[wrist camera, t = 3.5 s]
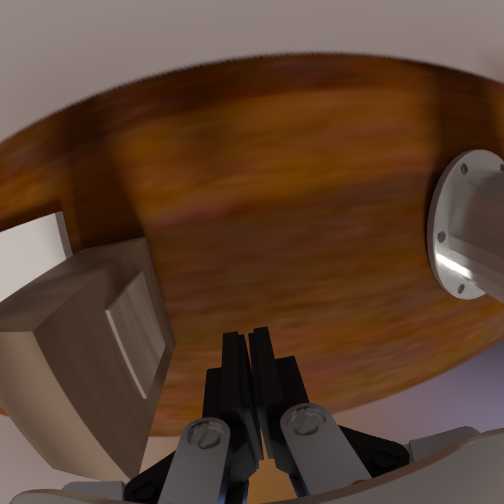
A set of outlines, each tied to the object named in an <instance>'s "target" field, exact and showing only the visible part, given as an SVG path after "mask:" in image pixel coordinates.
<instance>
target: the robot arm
mask: <svg viewBox="0 0 504 504" xmlns="http://www.w3.org/2000/svg"><path fill="white" fill-rule="evenodd" d="M427 248H428V256H429V260H430V265H431V268H432V271H433V273H434V275H435V278H436V279H437V281H438V282H439V284H440V285H441V286H442V287H443V288H444V289H445V290H446V291H448V292H449V293H450V294H452V295H454V296H455V297H457V298H461V299H474V298H477V297H479V296H482V295H483V294H485V293H487V294H489V295H490V296H492V297H494V298H495V299H497V300H498V301H500V302H502V303H503V304H504V161H503V160H502V159H501V158H500V157H499V156H498V155H496V154H494V153H493V152H491V151H487V150H469V151H465V152H463V153H461V154H460V155H458V156H457V157H455V158H454V159H453V160H452V161H451V162H450V163H449V165H448V166H447V167H446V169H445V170H444V172H443V173H442V175H441V177H440V178H439V181H438V183H437V186H436V188H435V190H434V193H433V197H432V201H431V204H430V209H429V216H428V222H427ZM253 330H254V333H248V336H249V346H250V356H251V365H252V370H251V365H250V361H249V356H248V351H247V346H246V342H245V337H244V334H242V335H239V334H238V331H236V332H230V333H224V334H223V346H222V367H221V368H213V369H208V370H207V374H206V384H205V394H204V404H203V414H202V418H201V419H197V420H195V421H193V422H191V423H190V424H189V425H187V426H186V427H185V429H184V430H183V432H182V435H181V437H180V440H179V443H178V446H177V449H176V450H175V451H174V452H173V453H171V454H170V455H168V456H167V457H165V458H164V459H162V460H161V461H159V462H158V463H156V464H155V465H153V466H152V467H150V468H148V469H147V470H145V471H144V472H142V473H141V474H139V475H137V476H136V477H134V478H133V479H131V480H130V481H129V482H128V483H124V482H123V481H103V482H71V483H68V484H67V485H65V486H64V487H63V488H62V490H56V489H36V490H28V491H25V492H21V493H20V494H17V495H16V496H15V497H14V498H13V499H12V500H11V502H10V503H9V504H247V497H248V488H249V477H250V476H251V475H252V474H253V473H255V472H256V469H258V468H259V464H258V461H259V460H264V457H263V448H262V439H261V431H260V425H261V429H262V434H263V438H264V442H265V446H266V450H267V454H268V457H269V459H273V458H274V460H275V464H276V468H278V469H279V470H281V471H283V472H285V473H287V474H289V479H290V481H291V484H292V486H293V488H294V491H295V493H296V496H297V498H296V499H290V500H285V501H278V502H271V503H263V504H504V428H500V429H495V430H490V431H486V432H483V433H479V432H478V430H476V429H474V428H473V427H468V426H464V427H459V428H456V429H452V430H449V431H446V432H442V433H439V434H435V435H431V436H427V437H423V438H419V439H415V440H410V441H409V444H404V445H401V444H398V443H396V442H393V441H389V440H386V439H382V438H379V437H375V436H371V435H368V434H365V433H362V432H359V431H355V430H352V429H349V428H346V427H343V426H340V425H337V423H336V422H335V420H334V418H333V417H332V415H331V414H330V412H329V411H328V410H327V409H326V408H325V407H323V406H321V405H319V404H314V403H309V400H308V396H307V393H306V390H305V387H304V384H303V381H302V378H301V375H300V372H299V369H298V366H297V363H296V360H295V357H294V356H289V357H284V358H279V359H275V358H274V353H273V349H272V344H271V340H270V335H269V331H268V327H261V328H255V329H253ZM259 421H260V422H259Z"/></svg>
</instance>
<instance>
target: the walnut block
mask: <svg viewBox="0 0 504 504" xmlns="http://www.w3.org/2000/svg"><path fill="white" fill-rule="evenodd" d="M175 345H176V342H175V339H174V336H173V333H172V329H171V326H170V323H169V320H168V317H167V313H166V310H165V307H164V303H163V300H162V296H161V293H160V289H159V286H158V282H157V278H156V275H155V271H154V267H153V263H152V259H151V255H150V251H149V247H148V243H147V239H146V236H145V237H140V238H135V239H130V240H126V241H121V242H116V243H111V244H106V245H102V246H97V247H92V248H88V249H83V250H81V251H80V252H78V253H76V254H75V255H73V256H71V257H70V258H68V259H66V260H64V261H63V262H61V263H60V264H58V265H56V266H55V267H53V268H51V269H50V270H48V271H47V272H45V273H43V274H42V275H40V276H39V277H37V278H35V279H34V280H32V281H31V282H29V283H28V284H26V285H25V286H23V287H22V288H20V289H19V290H17V291H16V292H14V293H13V294H11V295H10V296H8V297H7V298H5V299H4V300H3V301H1V302H0V404H1V406H2V407H3V409H4V410H5V412H6V413H7V414H8V416H9V417H10V418H11V420H12V421H13V423H14V424H15V425H16V426H17V428H18V429H19V430H20V432H21V433H22V434H23V435H24V436H25V438H26V439H27V440H28V441H29V443H30V444H31V445H32V446H33V447H34V449H35V450H36V451H37V452H38V453H39V454H40V455H41V456H42V457H43V458H44V460H45V461H46V462H47V463H48V464H49V465H50V466H51V467H52V468H53V469H57V470H61V471H64V472H67V473H71V474H75V475H79V476H83V477H87V478H92V479H97V480H101V481H123V482H124V483H128V482H129V481H130V480H131V479H133V478H134V477H136V476H137V475H139V472H140V467H141V463H142V460H143V456H144V452H145V448H146V445H147V441H148V437H149V433H150V430H151V426H152V422H153V419H154V415H155V412H156V408H157V405H158V401H159V398H160V394H161V391H162V388H163V384H164V381H165V378H166V374H167V371H168V368H169V364H170V361H171V358H172V355H173V352H174V348H175Z"/></svg>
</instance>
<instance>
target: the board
mask: <svg viewBox="0 0 504 504" xmlns="http://www.w3.org/2000/svg"><path fill="white" fill-rule="evenodd" d="M71 256H73V253H72V249H71V245H70V241H69V237H68V233H67V229H66V225H65V220H64V216H63V211H60V212H57V213H54V214H50V215H47V216H44V217H41V218H38V219H36V220H33V221H30V222H27V223H24V224H21V225H19V226H16V227H13V228H11V229H8V230H5V231H3V232H0V302H1V301H3V300H4V299H5V298H7V297H8V296H10V295H11V294H13V293H14V292H16V291H17V290H19V289H20V288H22V287H23V286H25V285H26V284H28V283H29V282H31V281H32V280H34V279H35V278H37V277H39V276H40V275H42V274H43V273H45V272H47V271H48V270H50V269H51V268H53V267H55V266H56V265H58V264H60V263H61V262H63V261H64V260H66V259H68V258H70V257H71Z"/></svg>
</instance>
